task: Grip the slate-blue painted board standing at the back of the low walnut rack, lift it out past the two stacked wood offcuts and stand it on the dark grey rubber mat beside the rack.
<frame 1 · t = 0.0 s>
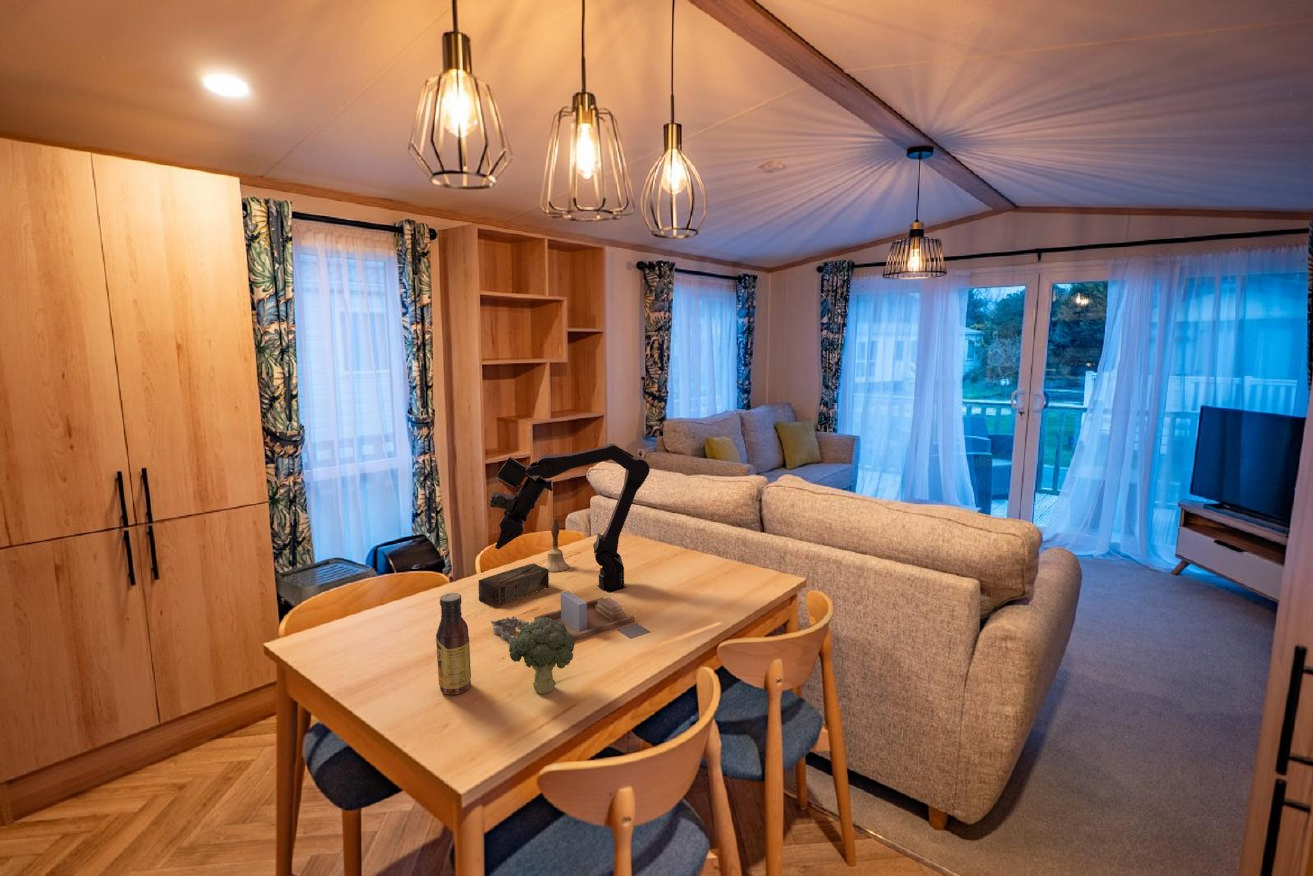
hand: (498, 543, 169), 15 cm above the table, tool tilted 35°, fingers open, 9 cm apart
vegetable: (542, 690, 124), on the table
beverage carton: (514, 595, 172), on the table
mat: (633, 633, 148), on the table
rack: (584, 623, 153), on the table
offcut lower: (609, 613, 158), point 1 cm above the table, touching offcut upper, rack
offcut upper: (609, 608, 157), point 2 cm above the table, touching offcut lower
sauce bottle: (455, 689, 124), on the table
hand bell: (555, 568, 193), on the table
egg carton: (514, 638, 146), on the table
board: (573, 624, 151), point 1 cm above the table, touching rack
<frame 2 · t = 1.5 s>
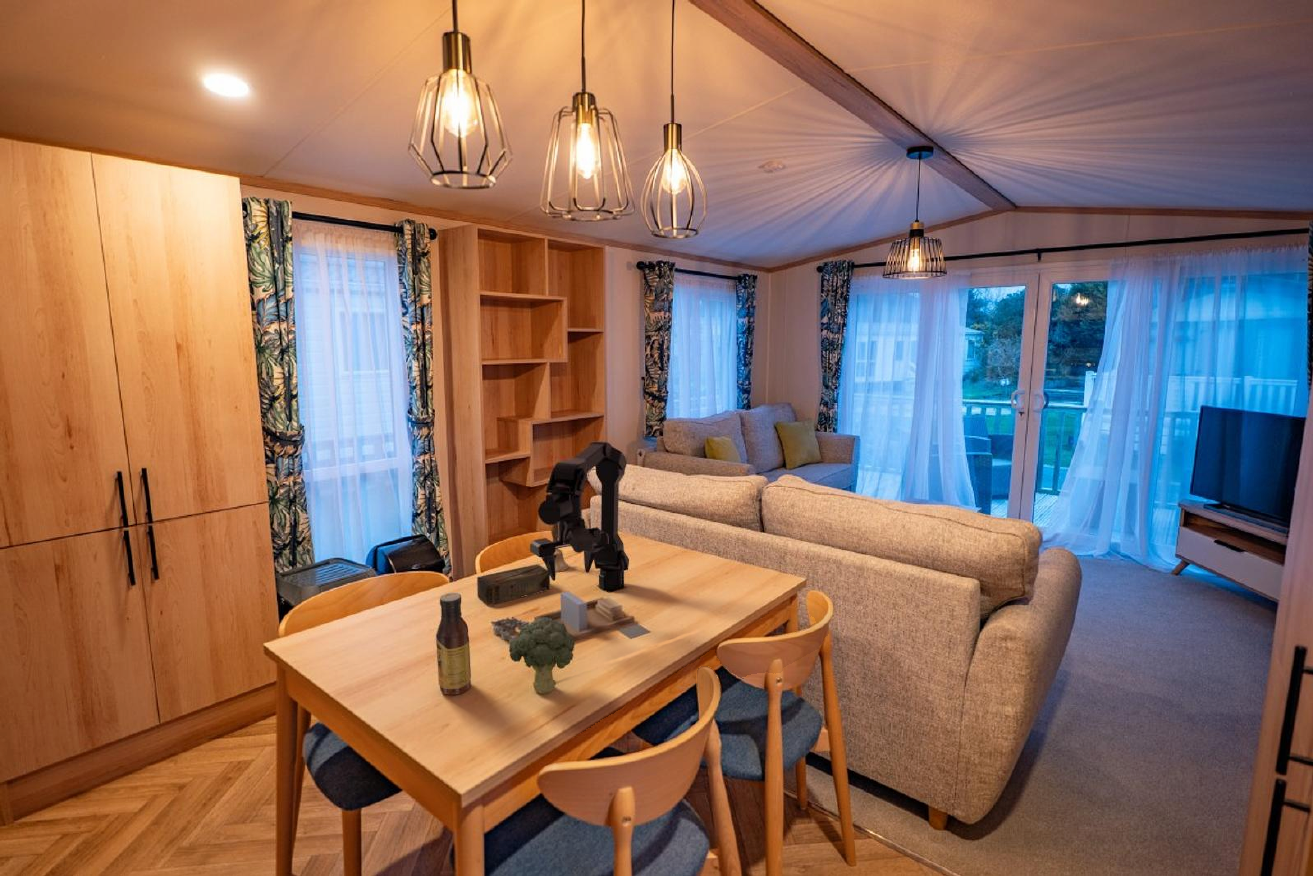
hand: (570, 576, 150), 13 cm above the table, tool pointing down, fingers open, 9 cm apart
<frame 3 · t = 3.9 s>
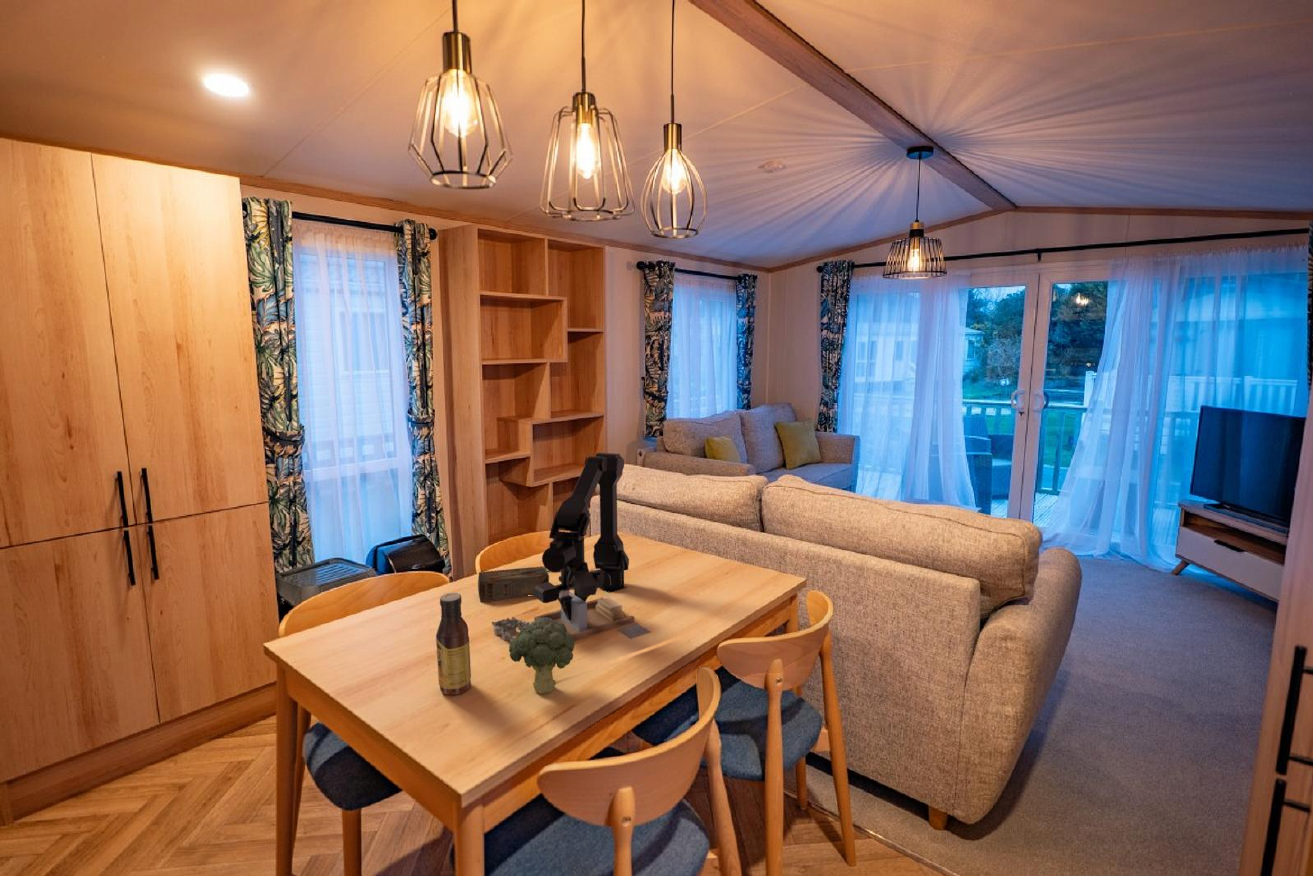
hand: (573, 618, 151), 2 cm above the table, tool pointing down, fingers closed on board, 2 cm apart
board: (573, 624, 151), point 1 cm above the table, touching gripper, rack
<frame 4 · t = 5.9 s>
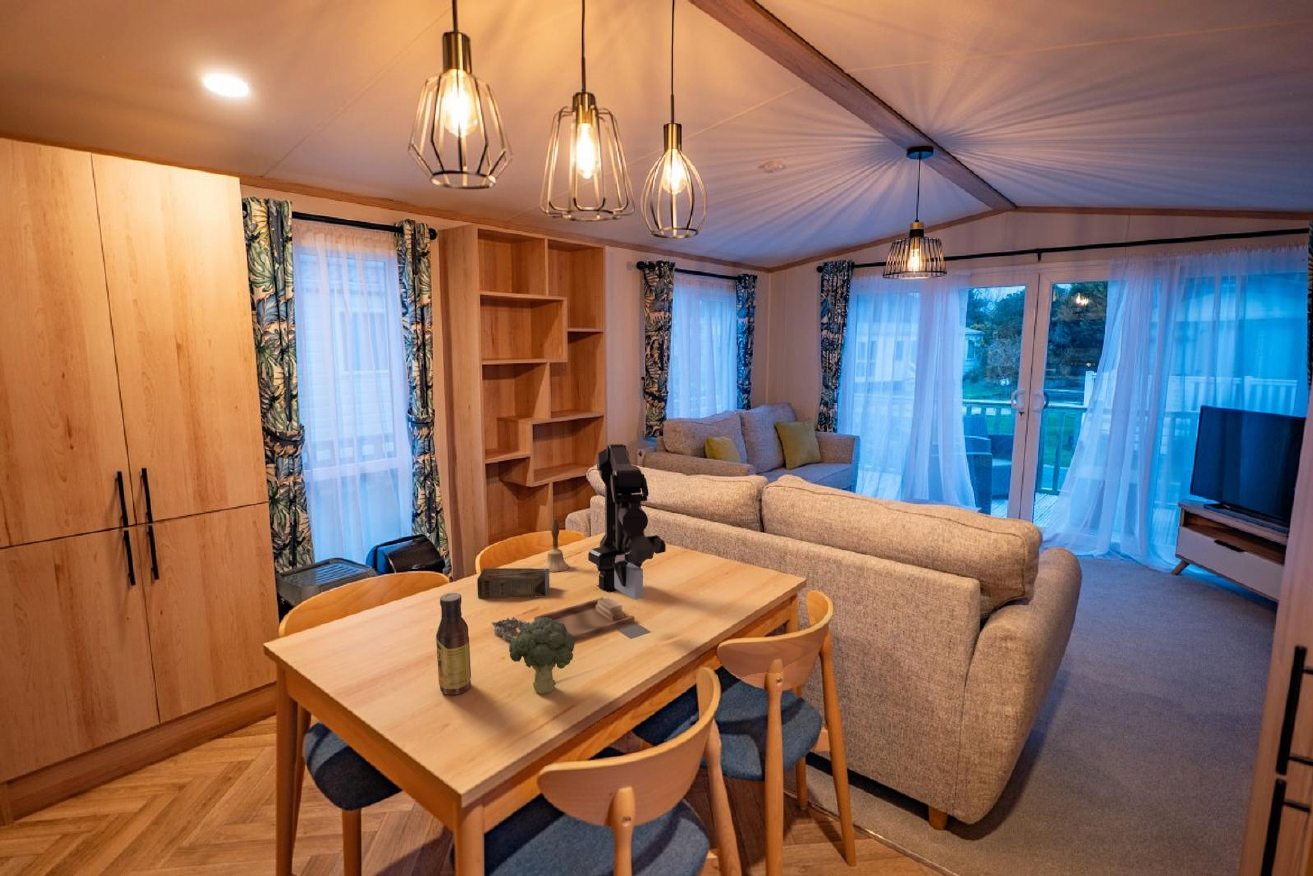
hand: (628, 585, 147), 12 cm above the table, tool pointing down, fingers closed on board, 2 cm apart
board: (628, 592, 147), point 10 cm above the table, touching gripper
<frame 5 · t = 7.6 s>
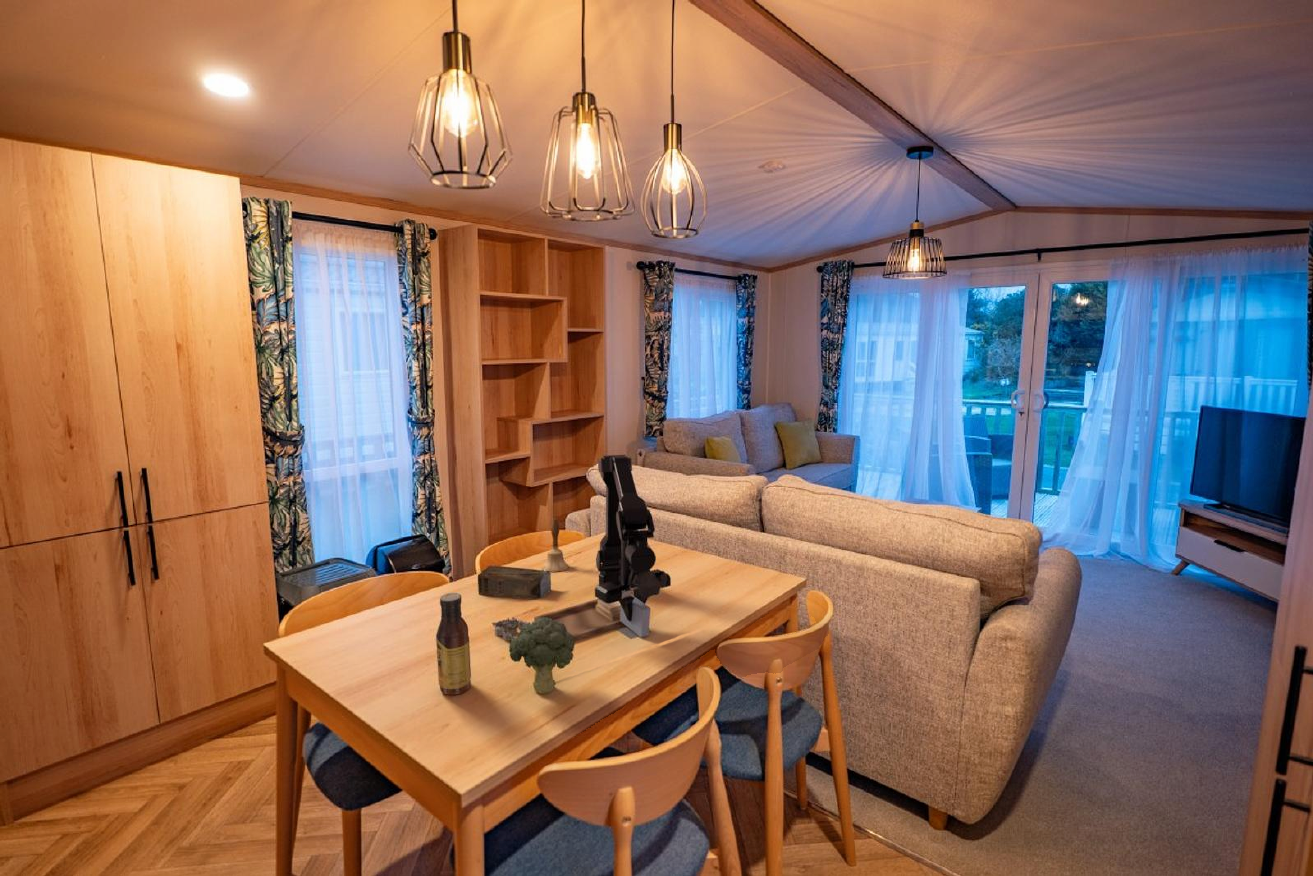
hand: (633, 619, 148), 4 cm above the table, tool pointing down, fingers closed on board, 2 cm apart
board: (634, 627, 148), point 1 cm above the table, tilted 5°, touching gripper, rack
when the fingers open (3 cm above the table, at t = 8.3 s): board stays where it is, resting on mat, rack.
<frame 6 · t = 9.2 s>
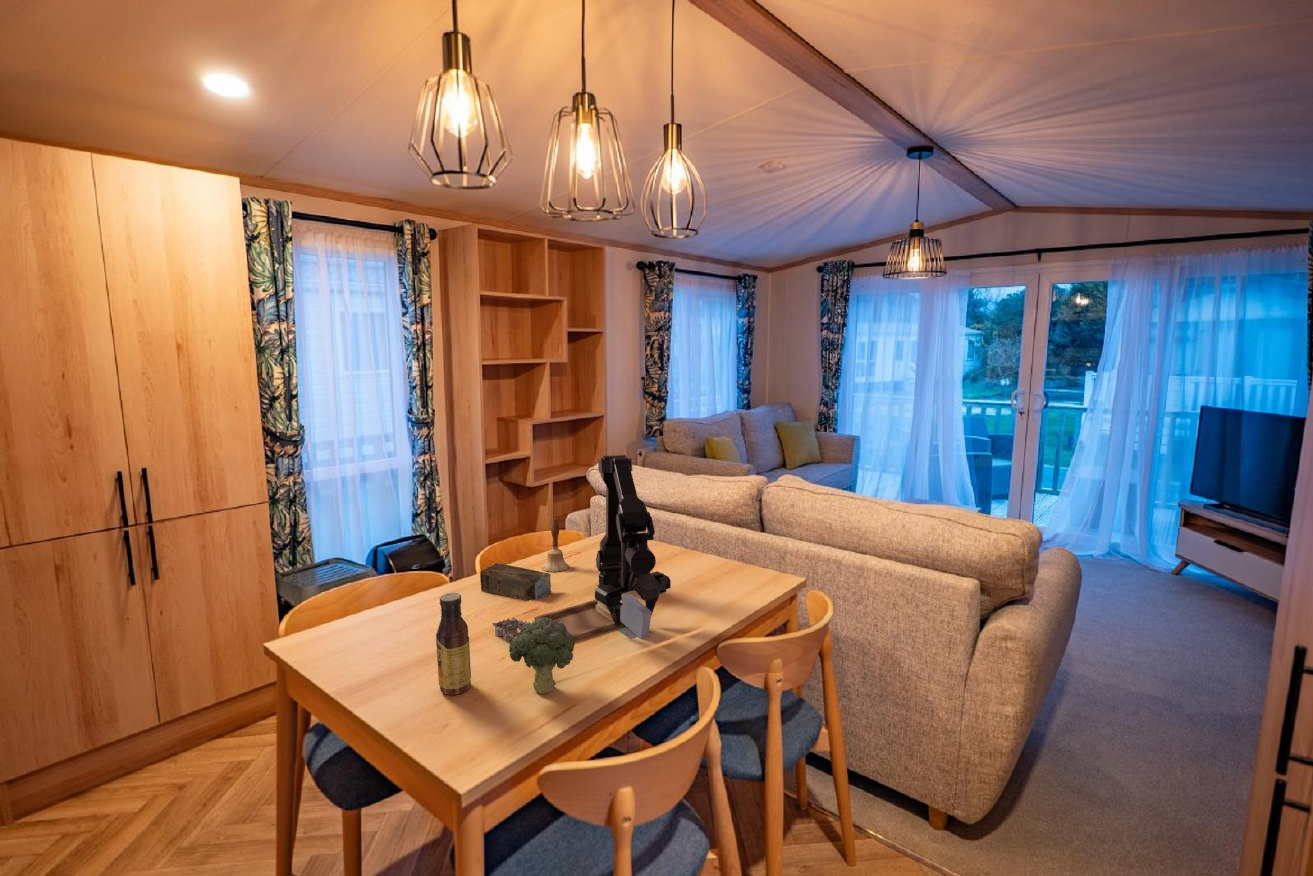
hand: (633, 621, 148), 3 cm above the table, tool pointing down, fingers open, 9 cm apart
board: (633, 628, 148), point 1 cm above the table, tilted 10°, touching mat, rack
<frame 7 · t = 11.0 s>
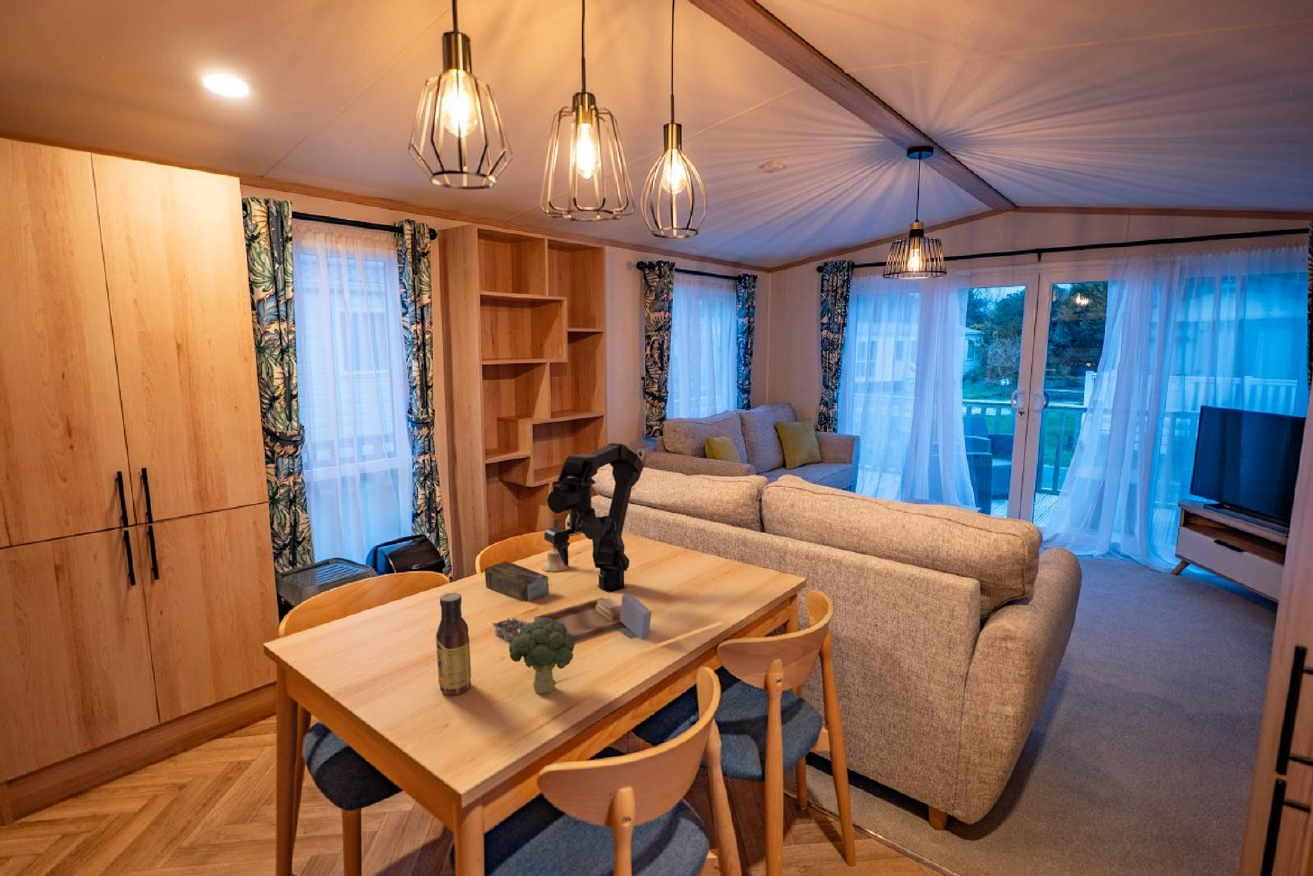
hand: (581, 561, 161), 13 cm above the table, tool pointing down, fingers open, 9 cm apart
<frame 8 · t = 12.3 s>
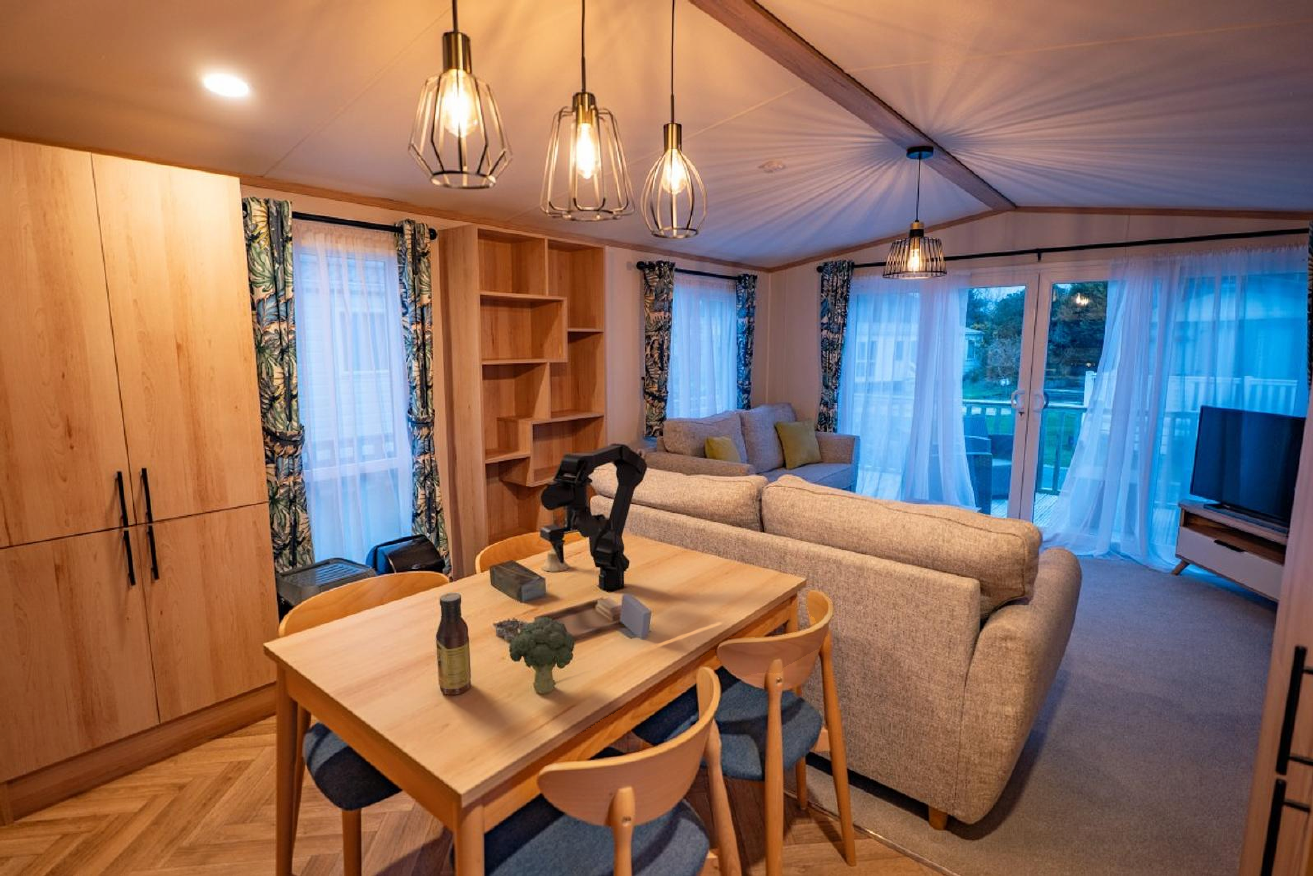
hand: (577, 559, 162), 13 cm above the table, tool pointing down, fingers open, 9 cm apart
at the end: board inside the target area on the mat (0.1 cm from its centre), point 1.1 cm above the mat's base; board tilted 10°; the gripper is holding nothing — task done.
